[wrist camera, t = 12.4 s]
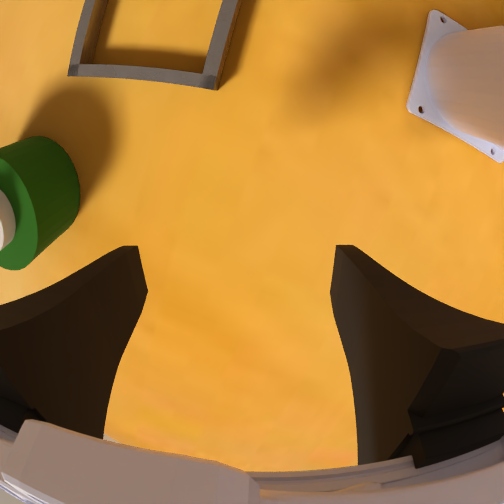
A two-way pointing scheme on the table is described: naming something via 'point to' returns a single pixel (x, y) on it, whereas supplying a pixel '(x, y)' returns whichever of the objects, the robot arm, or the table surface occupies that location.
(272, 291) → the table surface
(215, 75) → the c bracket
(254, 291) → the table surface
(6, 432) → the robot arm
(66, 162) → the candle
